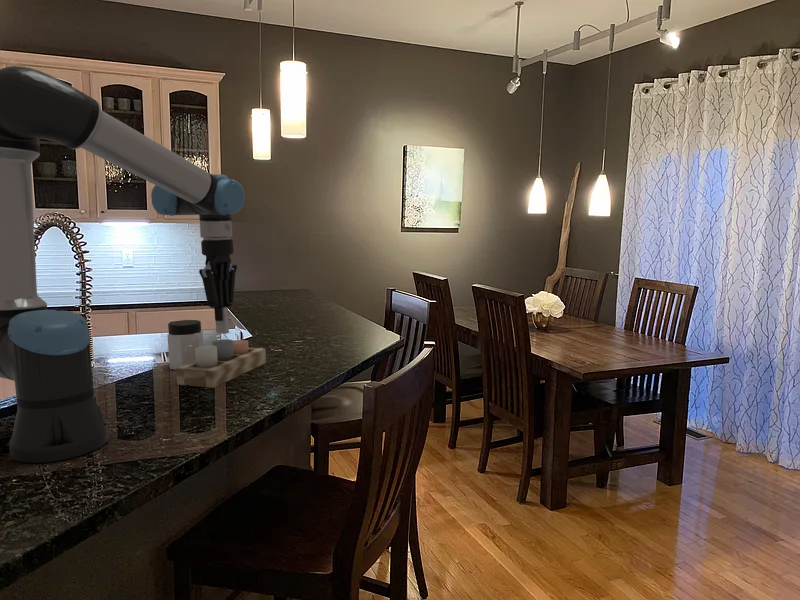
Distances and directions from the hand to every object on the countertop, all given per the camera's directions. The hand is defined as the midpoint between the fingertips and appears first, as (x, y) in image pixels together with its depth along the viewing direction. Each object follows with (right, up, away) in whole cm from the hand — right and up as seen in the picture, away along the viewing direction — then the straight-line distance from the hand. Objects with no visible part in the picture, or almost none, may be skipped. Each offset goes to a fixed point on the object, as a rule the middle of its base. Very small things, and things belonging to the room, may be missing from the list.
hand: (222, 332), depth 152 cm
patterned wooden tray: (0, -10, +1) cm, 10 cm away
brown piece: (+2, -8, +8) cm, 11 cm away
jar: (-12, -10, +8) cm, 17 cm away
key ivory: (-2, -8, -6) cm, 10 cm away
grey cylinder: (0, -7, +1) cm, 7 cm away
